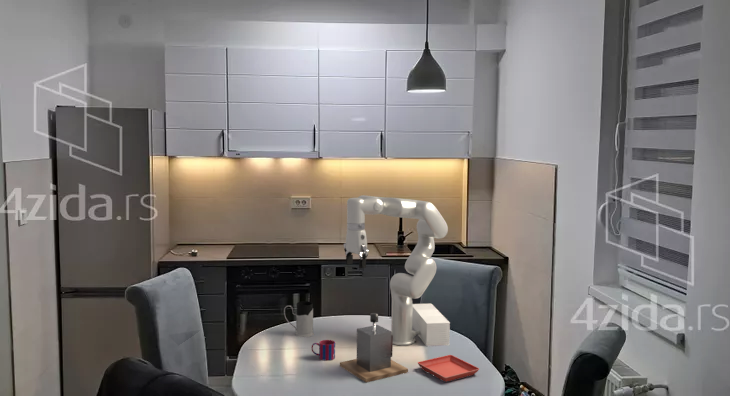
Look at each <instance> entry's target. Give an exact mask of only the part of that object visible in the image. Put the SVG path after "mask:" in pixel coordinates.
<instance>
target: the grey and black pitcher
mask: <svg viewBox="0 0 730 396" xmlns="http://www.w3.org/2000/svg"><path fill="white" fill-rule="evenodd" d="M288 307H289V308H291V310H292V314H293V315H294V316H296V320H295V321H296V323H295V324H296V326H295V325H294V324H293V323H292V322H290V321H289V320H288V318H287V317H286V308H288ZM283 315H284V318H285V320H286V322H287V323H289V325H291V326H292V328H294V329H295V333H294V335H295V336H296V337H298V338H309V337H313V336H314V335H315V334H314V308H313V301H312V302H311V301H308V300H303V301H298V302H297V303H296V313H294V308H293V306H292V305H285V307H284V309H283Z"/></svg>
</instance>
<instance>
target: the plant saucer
mask: <svg viewBox="0 0 730 396" xmlns="http://www.w3.org/2000/svg"><path fill="white" fill-rule="evenodd" d="M417 364H418V366H419V367H420V368H421V370H423V371H424V372H426V373H428V374H430V375H431V374H432V376H433V375H434V376H433V377H435V378H437V379H438V380H441V381H442V380H443V381H442V382H444V381H445V383H448V382H452V381H455V379H456V380H459V378H460V379H463V377H464V378H466V377H467V376H468V377H471V376H473V375H475V374H476V373H478V372H479V370H480V368H479V367H477V366H475V365H473V364H471V363H469V362H467V361H465V360H463V359H461V358H459V357H458V356H455V355H453V354H447V355H444V356H443V355H442V356H438V357H434V358H431V359H426V360H420V361H417ZM468 377H467V378H468ZM451 380H452V381H451ZM447 381H448V382H447Z"/></svg>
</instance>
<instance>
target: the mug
mask: <svg viewBox="0 0 730 396" xmlns="http://www.w3.org/2000/svg"><path fill="white" fill-rule="evenodd" d="M315 345H317V346H318V348H319V349H318V351H319V352H318V353H317V352H316V351H314V346H315ZM311 352H312V353H313V354H314V355H315V356H318V357H319V360H321V361H324V362H325V361H328V362H329V361H333V360H335V359H336V341H335V340H332V339H323V340H320V341H319V343H318V342H314V343H312V345H311Z"/></svg>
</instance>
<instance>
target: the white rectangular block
mask: <svg viewBox="0 0 730 396" xmlns="http://www.w3.org/2000/svg"><path fill="white" fill-rule="evenodd" d="M450 324H451V322H450V321H449V320H448V318H446V317H445V315H443V314H442V313H441V312H440V310H438V309H437V308H436V306H435V305H434V304H432V303H413V311H412V330H414V331H420V335H417V336H418V337H419V338H420V340H421V341H422V343H424V345H425V346H426V347H438V346H450V333H451V332H450V331H451V328H450V327H451V325H450Z"/></svg>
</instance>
